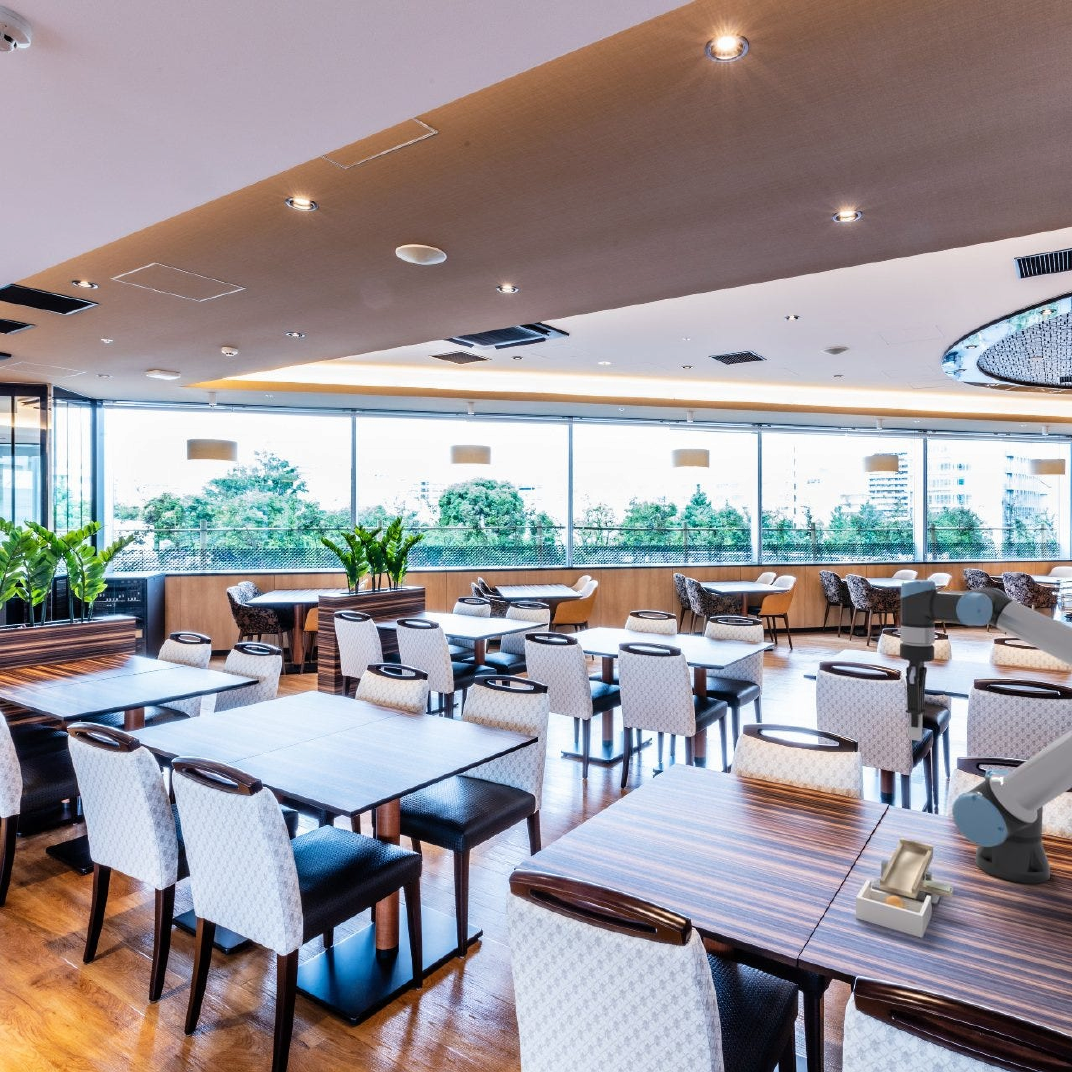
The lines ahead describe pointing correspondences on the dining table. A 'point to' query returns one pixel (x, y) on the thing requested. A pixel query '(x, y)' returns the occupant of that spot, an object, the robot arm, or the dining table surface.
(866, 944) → the dining table surface
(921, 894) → the stand
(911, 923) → the dish
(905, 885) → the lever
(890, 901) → the ball
